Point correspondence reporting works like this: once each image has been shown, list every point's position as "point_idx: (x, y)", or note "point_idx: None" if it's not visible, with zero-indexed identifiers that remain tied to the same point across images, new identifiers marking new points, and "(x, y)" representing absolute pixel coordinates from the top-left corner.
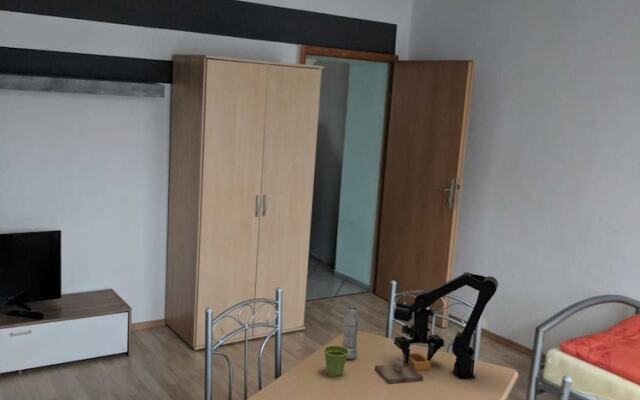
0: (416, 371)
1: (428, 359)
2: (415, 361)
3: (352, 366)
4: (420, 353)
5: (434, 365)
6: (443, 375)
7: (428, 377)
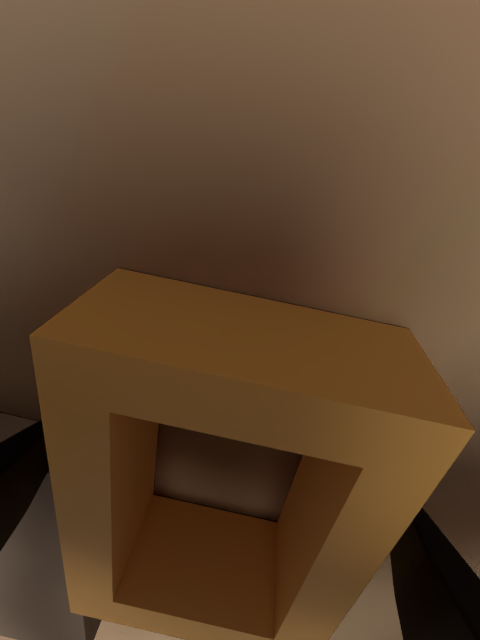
0: None
1: (400, 575)
2: (103, 590)
3: None
4: (444, 459)
5: (454, 514)
6: (334, 634)
7: None
